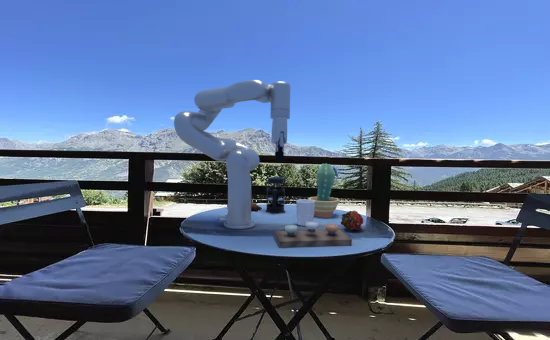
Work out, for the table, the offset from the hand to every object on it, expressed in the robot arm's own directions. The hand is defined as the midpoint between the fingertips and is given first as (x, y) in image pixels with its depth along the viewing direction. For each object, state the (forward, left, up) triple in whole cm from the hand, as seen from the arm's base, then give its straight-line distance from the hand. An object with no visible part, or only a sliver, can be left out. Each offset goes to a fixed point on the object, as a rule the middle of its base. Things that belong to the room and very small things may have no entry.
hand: (279, 161), depth 128 cm
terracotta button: (+17, -16, -25) cm, 34 cm away
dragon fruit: (+30, -2, -27) cm, 41 cm away
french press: (+4, +34, -27) cm, 44 cm away
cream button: (+9, -15, -24) cm, 30 cm away
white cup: (+13, +8, -27) cm, 31 cm away
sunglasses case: (-10, +43, -28) cm, 53 cm away
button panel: (+10, -15, -27) cm, 33 cm away
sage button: (+2, -15, -25) cm, 29 cm away
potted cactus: (+26, +24, -27) cm, 45 cm away
